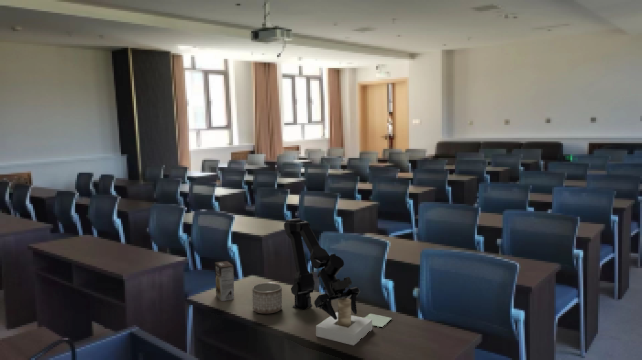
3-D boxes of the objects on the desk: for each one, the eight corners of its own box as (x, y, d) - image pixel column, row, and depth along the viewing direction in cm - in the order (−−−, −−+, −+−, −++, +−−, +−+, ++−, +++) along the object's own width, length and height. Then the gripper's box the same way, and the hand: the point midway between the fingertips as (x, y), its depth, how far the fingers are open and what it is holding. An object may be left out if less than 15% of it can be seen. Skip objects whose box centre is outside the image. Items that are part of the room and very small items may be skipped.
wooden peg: (335, 333, 189) (335, 301, 187) (341, 329, 193) (341, 297, 191) (347, 336, 186) (347, 303, 185) (353, 331, 190) (353, 299, 189)
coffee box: (215, 295, 232) (214, 262, 230) (228, 293, 235) (227, 260, 233) (221, 301, 224) (220, 267, 222) (234, 299, 227) (233, 265, 225)
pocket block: (316, 336, 187) (316, 326, 186) (336, 321, 200) (336, 312, 200) (353, 345, 179) (353, 335, 178) (372, 329, 192) (372, 319, 192)
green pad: (359, 323, 198) (359, 321, 198) (369, 314, 207) (369, 313, 207) (382, 328, 193) (382, 326, 193) (391, 319, 202) (392, 318, 202)
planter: (269, 318, 204) (268, 294, 203) (246, 311, 211) (246, 288, 210) (287, 308, 215) (287, 285, 214) (265, 302, 222) (265, 280, 221)
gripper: (317, 275, 185) (334, 312, 177) (357, 266, 195) (374, 301, 187) (307, 289, 193) (322, 325, 185) (346, 280, 203) (362, 315, 195)
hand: (346, 316), depth 188 cm, fingers open, 9 cm apart
